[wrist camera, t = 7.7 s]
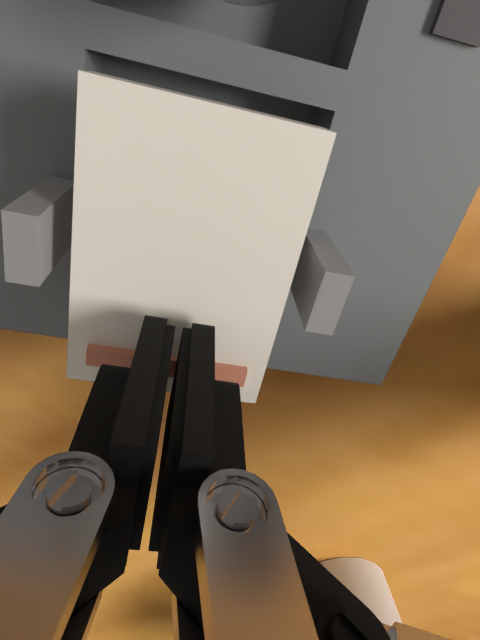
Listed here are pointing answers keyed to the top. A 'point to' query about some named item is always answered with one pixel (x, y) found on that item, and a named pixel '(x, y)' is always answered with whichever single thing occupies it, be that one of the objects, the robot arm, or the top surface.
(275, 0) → the button grey
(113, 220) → the plate
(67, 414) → the top surface
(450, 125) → the panel
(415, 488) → the top surface
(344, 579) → the white cup
